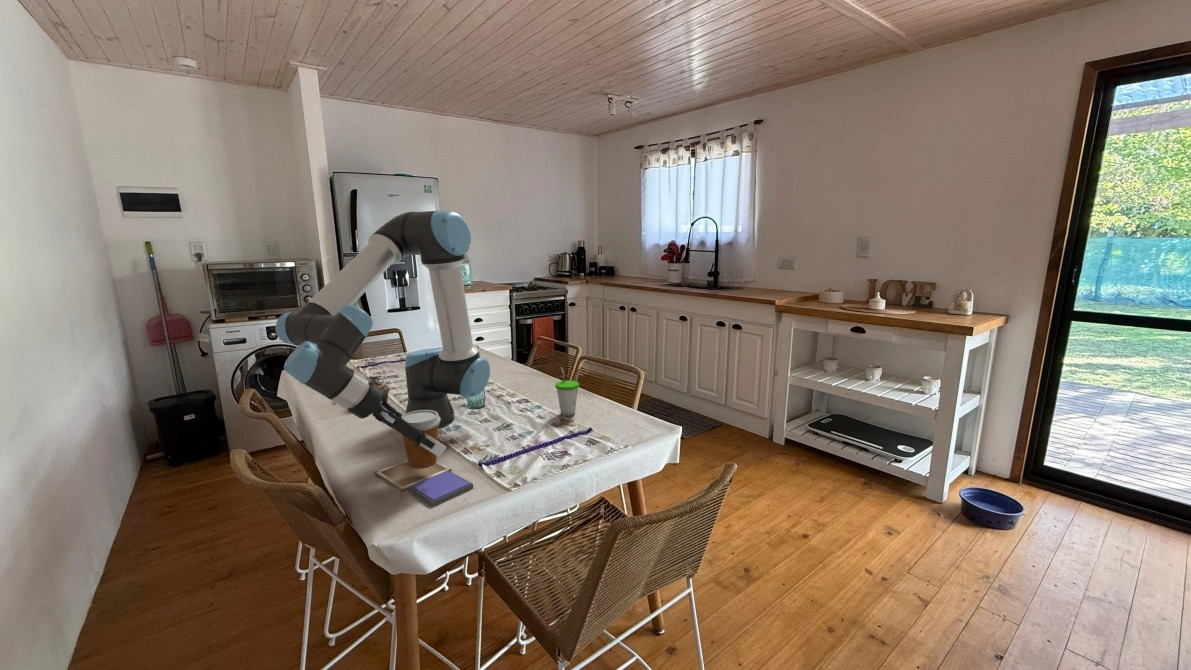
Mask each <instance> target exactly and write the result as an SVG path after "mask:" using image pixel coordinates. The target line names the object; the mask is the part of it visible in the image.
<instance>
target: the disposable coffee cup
mask: <svg viewBox="0 0 1191 670" xmlns="http://www.w3.org/2000/svg"><path fill="white" fill-rule="evenodd" d="M402 419H404V420H405V421H407V422H408V423H410V424H411V425H412V426H414V427H415V428H417V429H418V430H419V431H421V432H422V433H425V434H427V435H429V436H430V437H432V438H433V439H435V440H436V441H438V442H439V423H440V420H441V418H440V417H439V415H438V413H437V412H436V411H432V410H418V411H413V412H409V413H406V414H405V413H404V414H403V415H402ZM401 436H402V440H403V445H404V448H405V453H406V457H407V460H408V462H409V466H410V467H411V468H415V469H423V468H427V467H430V466H432V465H434V464H435V463H436V462H438V460H437V458H438V456H436V455H435V454H433V453H432V452H430V451H429V450H427V449H425V448H424V447H422V446H421V445H418V446H417V447H416V446H415V444H416V443H415V442H413V441H412V440H410V439H409V438H407V437H406V436H404V435H403V434H401Z"/></svg>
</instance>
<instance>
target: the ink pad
mask: <svg viewBox="0 0 1191 670" xmlns="http://www.w3.org/2000/svg"><path fill="white" fill-rule="evenodd" d="M473 489H474V483H472V482H471V481H469V480H468V479H464V478H463V477H461V476H459V475H458V474H455V473H454V472H452V471H451V472H450V471H445V472H443V473H440V474H438V475H436V476H433V477H431V478H428V479H426V480H423V481H421V482H418V483H416V484H414V485H411V486H409V489H408V491H409V492H410V493H412V494H413V495H415V496H416V497H419V498H420V499H421V500H423V501H424V502H426V503H427V504H429V505H430V506H432V507H435V506H437V505H440V504H441V503H443V502H445V501H449V500H450V499H452V498H455V497H457V496H459V495H461V494H463V493H465V492H467V491H469V490H473Z"/></svg>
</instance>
